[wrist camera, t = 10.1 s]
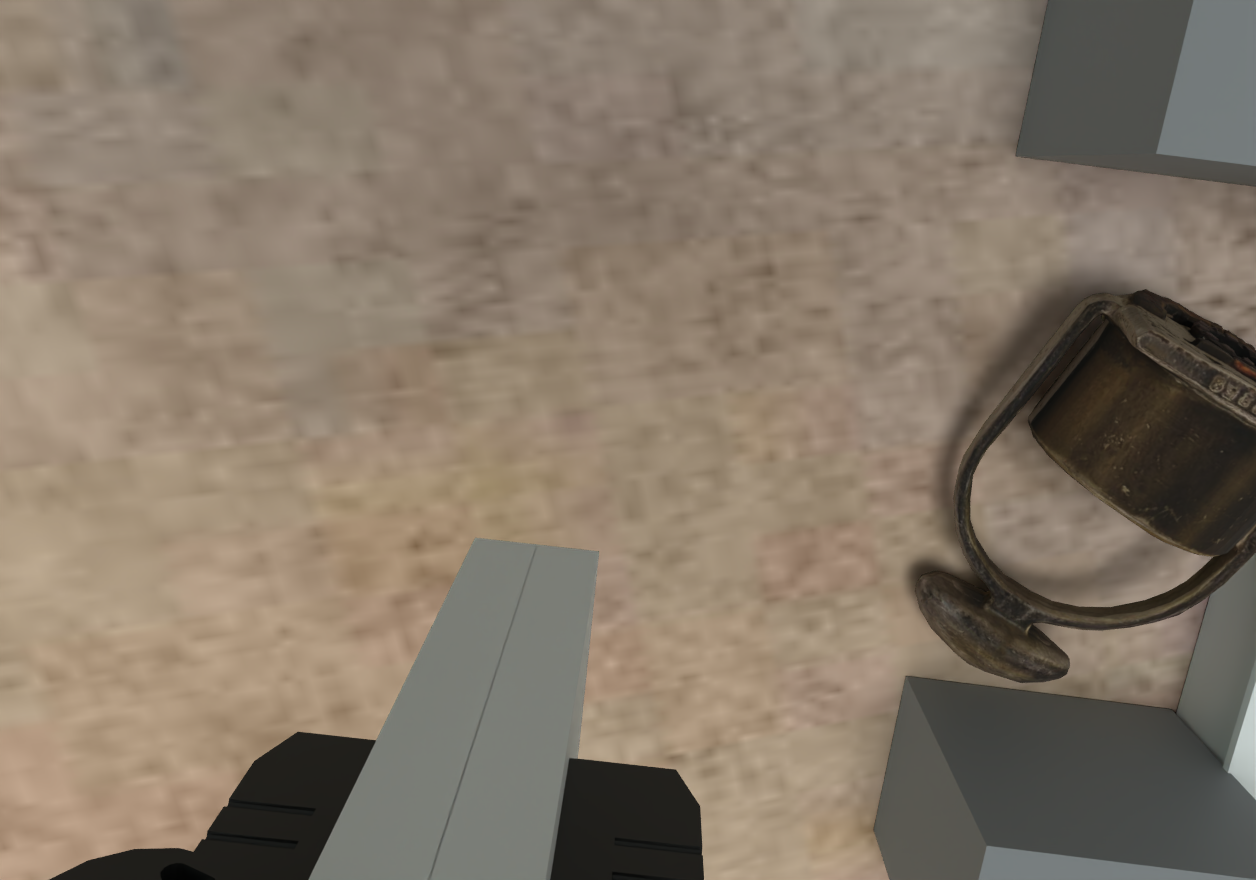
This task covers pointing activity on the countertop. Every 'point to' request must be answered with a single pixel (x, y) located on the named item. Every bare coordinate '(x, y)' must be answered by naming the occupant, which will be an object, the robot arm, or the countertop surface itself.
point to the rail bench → (1236, 612)
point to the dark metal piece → (1117, 472)
